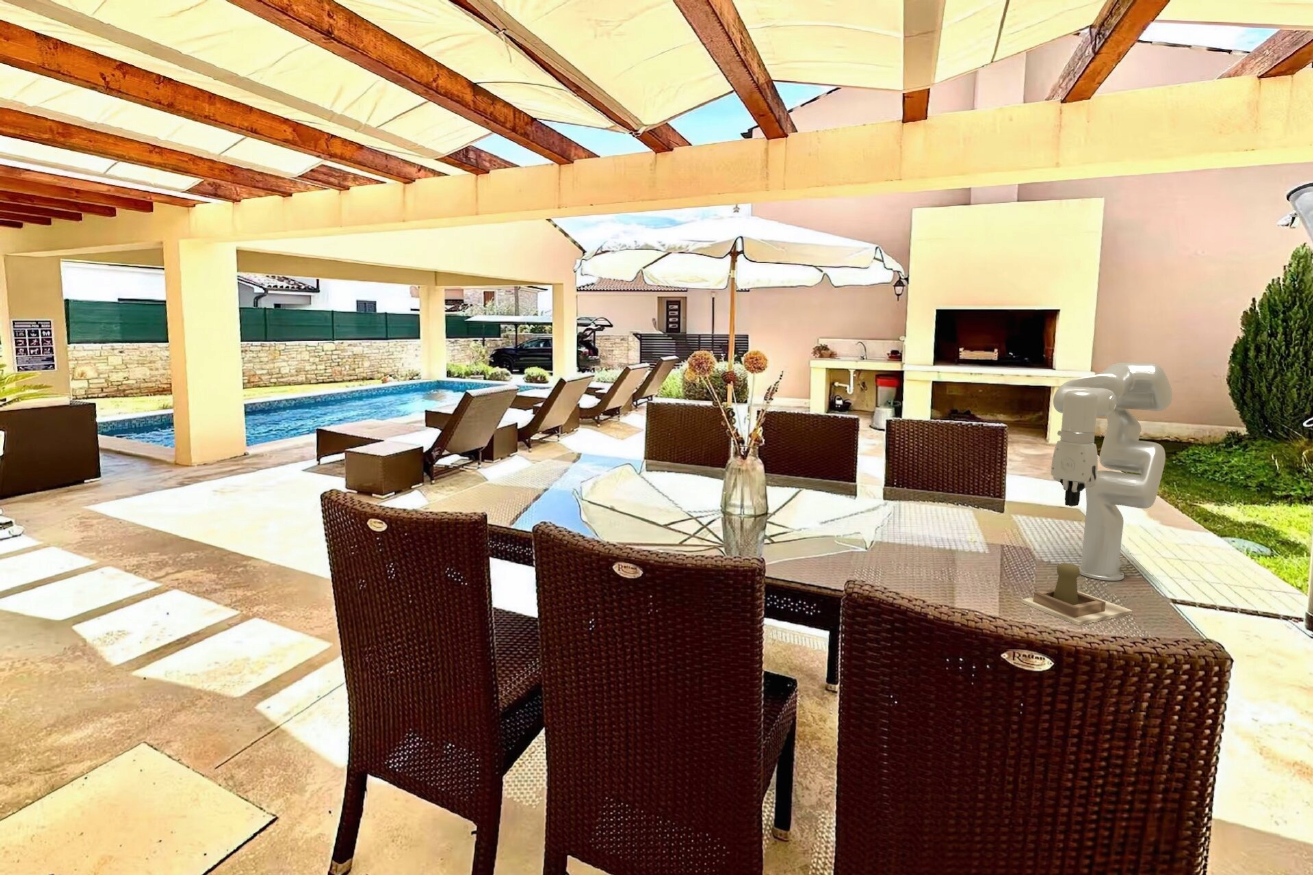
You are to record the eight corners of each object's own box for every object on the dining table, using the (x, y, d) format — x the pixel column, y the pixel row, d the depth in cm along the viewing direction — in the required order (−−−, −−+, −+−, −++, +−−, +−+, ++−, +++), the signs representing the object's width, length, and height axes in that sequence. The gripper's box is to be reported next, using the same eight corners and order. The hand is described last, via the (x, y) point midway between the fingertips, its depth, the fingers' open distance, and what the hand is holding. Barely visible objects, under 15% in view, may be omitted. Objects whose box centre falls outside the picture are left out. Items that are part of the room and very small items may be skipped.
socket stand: (1073, 592, 190) (1074, 580, 190) (1131, 614, 176) (1133, 601, 175) (1021, 602, 183) (1023, 590, 182) (1078, 625, 168) (1079, 612, 167)
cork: (1049, 605, 179) (1053, 564, 177) (1054, 598, 183) (1057, 559, 182) (1076, 610, 175) (1080, 569, 173) (1080, 604, 179) (1084, 563, 178)
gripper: (1041, 434, 184) (1036, 500, 187) (1096, 443, 170) (1089, 514, 174) (1060, 432, 187) (1055, 497, 190) (1115, 440, 173) (1108, 510, 176)
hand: (1071, 505), depth 182 cm, fingers closed
